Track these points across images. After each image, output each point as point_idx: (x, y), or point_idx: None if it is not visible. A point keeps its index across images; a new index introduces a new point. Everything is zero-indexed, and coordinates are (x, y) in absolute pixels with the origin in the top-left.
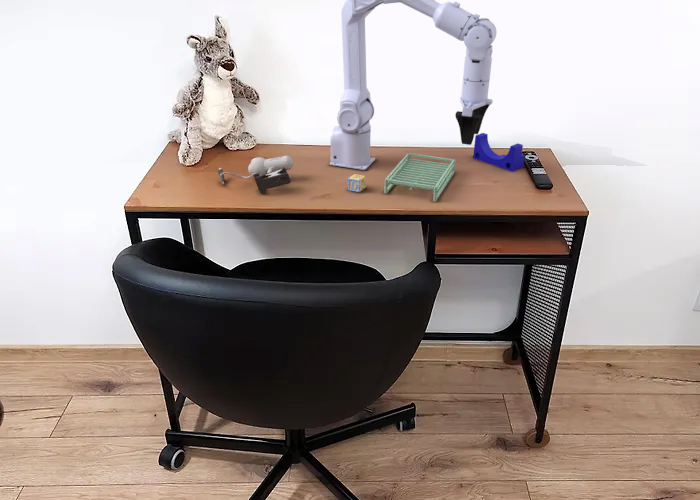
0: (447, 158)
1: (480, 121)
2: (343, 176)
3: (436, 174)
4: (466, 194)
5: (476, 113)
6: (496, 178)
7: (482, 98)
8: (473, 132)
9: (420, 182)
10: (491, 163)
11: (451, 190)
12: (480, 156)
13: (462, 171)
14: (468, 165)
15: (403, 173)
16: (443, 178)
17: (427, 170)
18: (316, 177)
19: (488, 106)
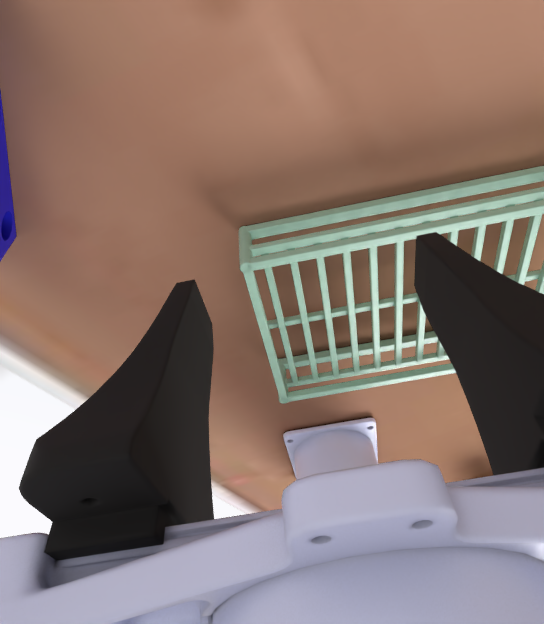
0: (251, 293)
1: (176, 343)
2: (430, 427)
3: (403, 258)
4: (454, 76)
5: (184, 424)
6: (167, 16)
7: (542, 620)
8: (505, 280)
9: (502, 269)
10: (3, 132)
11: (429, 157)
12: (4, 210)
13: (198, 207)
14: (113, 216)
15: (343, 347)
16: (475, 213)
17: (377, 299)
18: (457, 454)
19: (134, 439)
